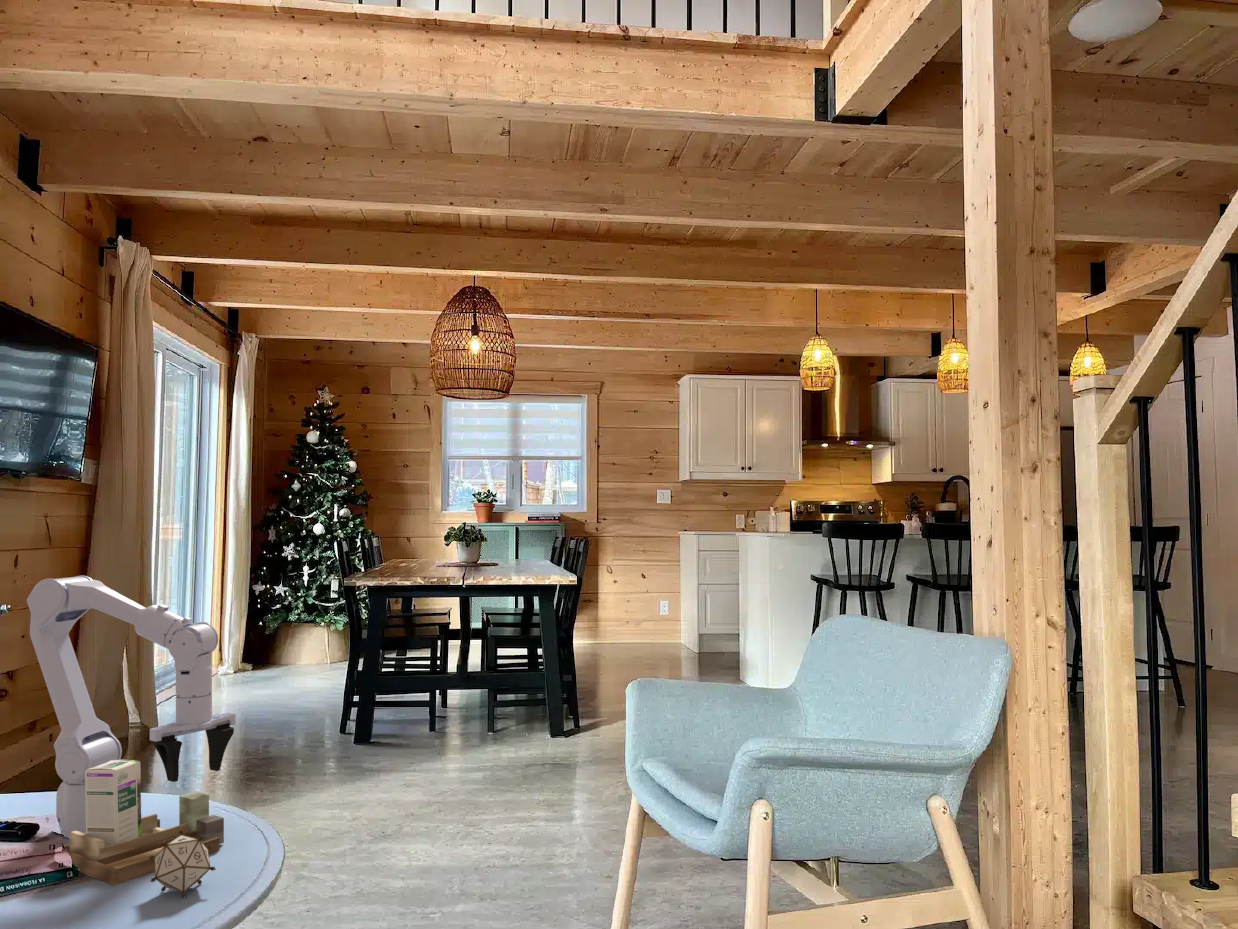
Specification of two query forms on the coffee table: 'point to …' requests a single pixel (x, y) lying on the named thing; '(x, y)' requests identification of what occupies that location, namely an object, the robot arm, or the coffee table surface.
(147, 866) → the lane board
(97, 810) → the syrup box
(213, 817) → the wooden bar
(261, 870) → the coffee table surface
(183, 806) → the wooden slotted tray
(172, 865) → the game die
